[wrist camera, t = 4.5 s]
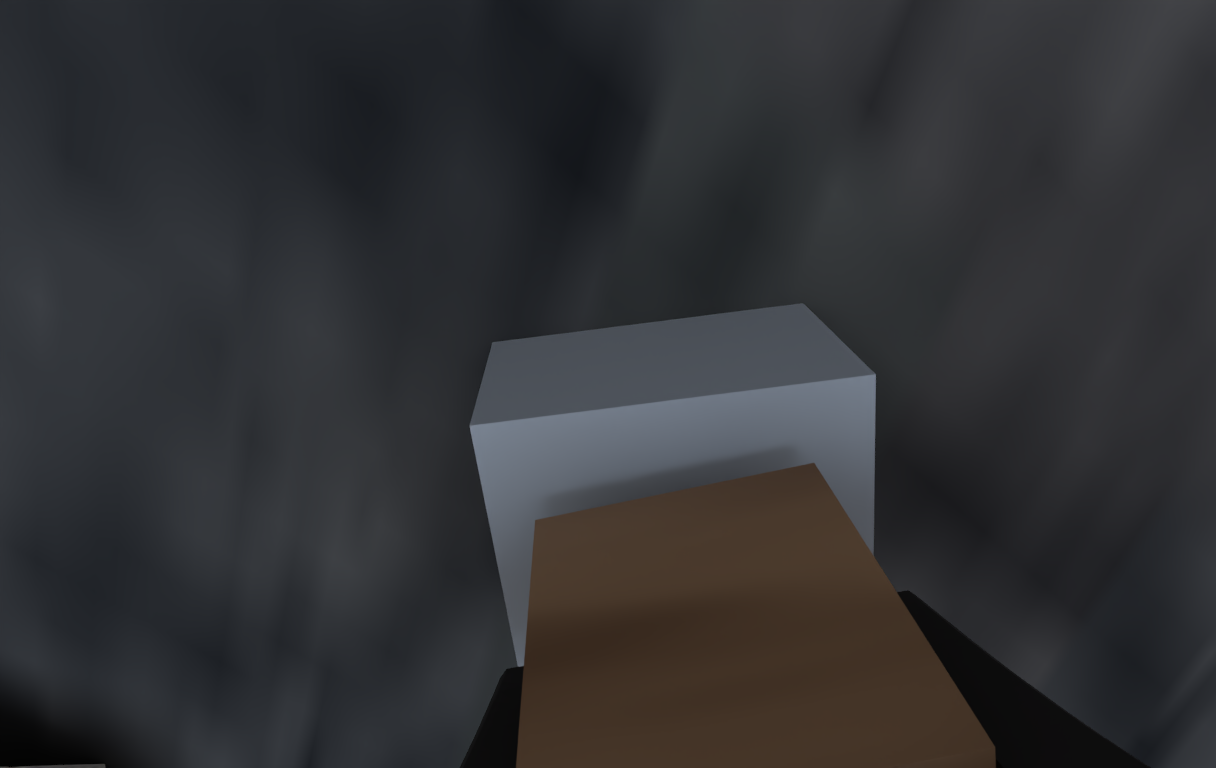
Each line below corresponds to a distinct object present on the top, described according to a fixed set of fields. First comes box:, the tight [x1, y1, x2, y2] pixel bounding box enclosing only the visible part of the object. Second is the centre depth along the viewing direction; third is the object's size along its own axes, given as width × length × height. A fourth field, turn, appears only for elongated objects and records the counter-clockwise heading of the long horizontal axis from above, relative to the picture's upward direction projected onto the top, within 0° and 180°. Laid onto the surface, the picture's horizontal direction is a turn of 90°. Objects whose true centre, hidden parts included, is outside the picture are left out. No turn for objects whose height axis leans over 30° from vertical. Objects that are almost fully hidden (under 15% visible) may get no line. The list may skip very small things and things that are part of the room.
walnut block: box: [516, 463, 996, 768], centre depth 9 cm, size 4×4×5 cm
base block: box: [470, 303, 876, 667], centre depth 14 cm, size 6×6×4 cm
